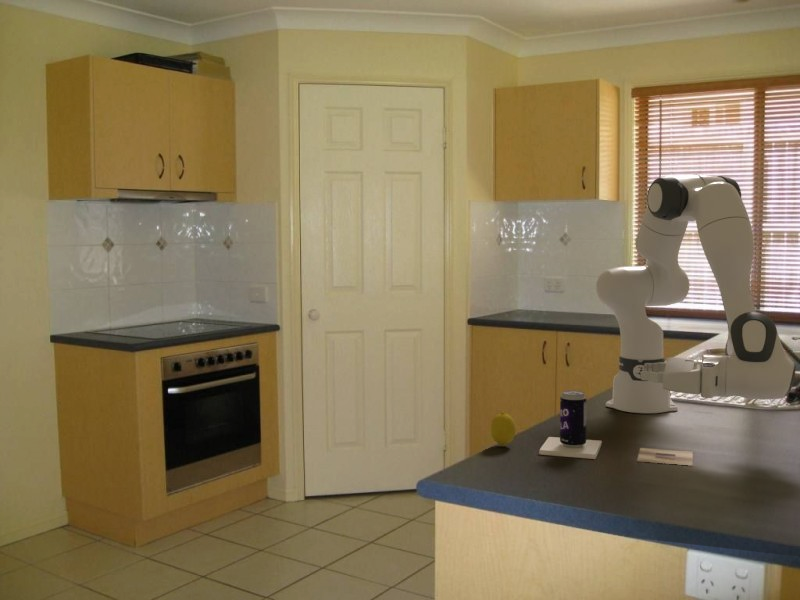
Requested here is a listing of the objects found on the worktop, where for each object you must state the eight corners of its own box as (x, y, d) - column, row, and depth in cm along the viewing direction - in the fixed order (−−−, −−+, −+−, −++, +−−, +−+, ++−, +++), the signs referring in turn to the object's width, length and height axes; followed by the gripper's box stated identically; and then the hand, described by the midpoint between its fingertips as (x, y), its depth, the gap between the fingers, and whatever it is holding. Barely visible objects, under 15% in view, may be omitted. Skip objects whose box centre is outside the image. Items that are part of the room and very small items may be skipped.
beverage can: (567, 441, 185) (568, 389, 184) (590, 445, 181) (591, 391, 180) (555, 446, 180) (555, 392, 179) (578, 450, 177) (578, 396, 176)
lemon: (501, 442, 188) (501, 408, 188) (520, 446, 184) (520, 411, 184) (485, 446, 184) (485, 412, 184) (505, 451, 180) (505, 415, 180)
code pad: (640, 448, 181) (640, 447, 181) (692, 452, 177) (692, 451, 177) (636, 461, 171) (636, 460, 171) (692, 466, 167) (692, 465, 167)
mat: (548, 441, 189) (548, 436, 189) (601, 445, 185) (601, 440, 184) (539, 454, 177) (539, 449, 177) (595, 459, 173) (595, 454, 173)
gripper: (710, 352, 182) (646, 349, 187) (711, 369, 163) (639, 365, 168) (709, 380, 182) (645, 376, 187) (710, 400, 163) (638, 395, 168)
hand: (642, 371), depth 177 cm, fingers open, 8 cm apart
